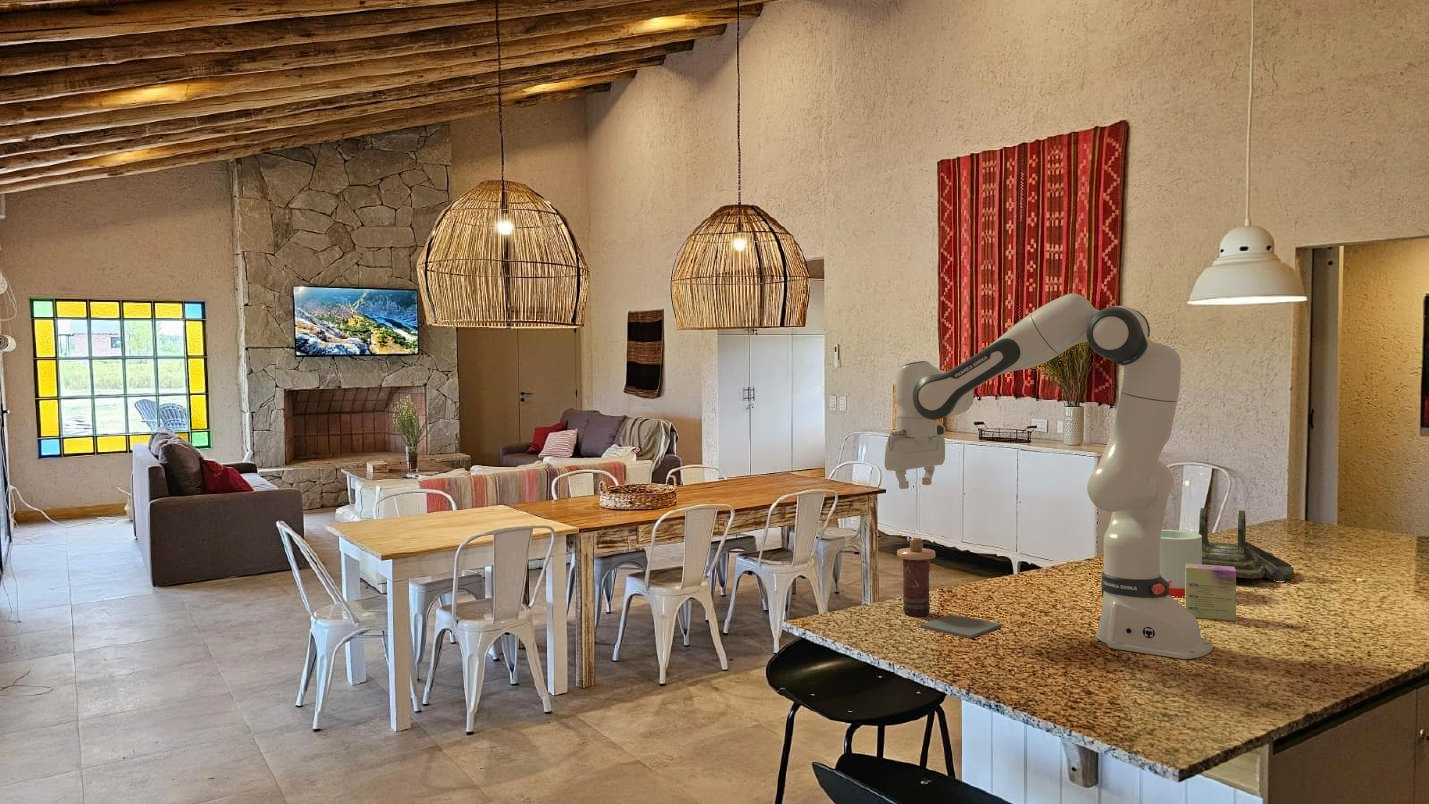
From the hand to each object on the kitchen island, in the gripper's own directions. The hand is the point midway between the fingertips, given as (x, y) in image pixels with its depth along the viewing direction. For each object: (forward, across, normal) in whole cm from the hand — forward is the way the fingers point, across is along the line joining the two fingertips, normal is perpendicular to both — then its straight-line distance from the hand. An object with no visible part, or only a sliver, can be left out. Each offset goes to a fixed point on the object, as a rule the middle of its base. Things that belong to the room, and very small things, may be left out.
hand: (915, 486), depth 227 cm
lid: (+17, 0, 0) cm, 17 cm away
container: (+31, +65, -34) cm, 80 cm away
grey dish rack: (+32, +97, -36) cm, 108 cm away
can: (+31, 0, 0) cm, 31 cm away
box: (+31, +44, -51) cm, 74 cm away
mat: (+31, -3, -14) cm, 34 cm away
